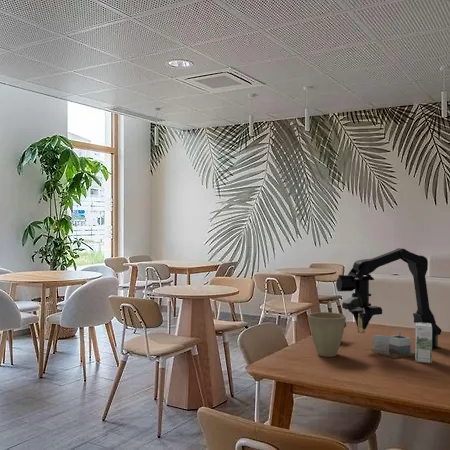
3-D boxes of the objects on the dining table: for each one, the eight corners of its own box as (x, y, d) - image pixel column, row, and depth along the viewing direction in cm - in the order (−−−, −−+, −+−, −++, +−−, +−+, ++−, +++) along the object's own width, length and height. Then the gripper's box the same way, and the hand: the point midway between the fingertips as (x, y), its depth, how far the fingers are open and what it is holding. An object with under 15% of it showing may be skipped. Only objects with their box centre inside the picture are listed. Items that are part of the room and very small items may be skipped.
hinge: (398, 347, 216) (398, 331, 216) (420, 354, 205) (420, 337, 205) (371, 351, 210) (371, 334, 210) (392, 358, 199) (392, 340, 199)
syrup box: (431, 359, 197) (431, 322, 197) (431, 364, 192) (432, 325, 192) (415, 358, 199) (415, 321, 199) (415, 362, 194) (416, 324, 194)
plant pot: (352, 354, 205) (352, 315, 205) (333, 361, 194) (333, 320, 194) (320, 347, 215) (321, 310, 215) (300, 354, 205) (301, 315, 204)
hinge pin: (361, 331, 213) (362, 312, 213) (366, 332, 210) (366, 313, 210) (356, 332, 212) (356, 312, 212) (361, 333, 209) (361, 314, 209)
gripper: (332, 289, 216) (331, 325, 216) (361, 295, 199) (361, 334, 199) (353, 287, 221) (352, 323, 221) (383, 293, 204) (383, 332, 204)
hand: (361, 328), depth 211 cm, fingers closed on hinge pin, 3 cm apart
